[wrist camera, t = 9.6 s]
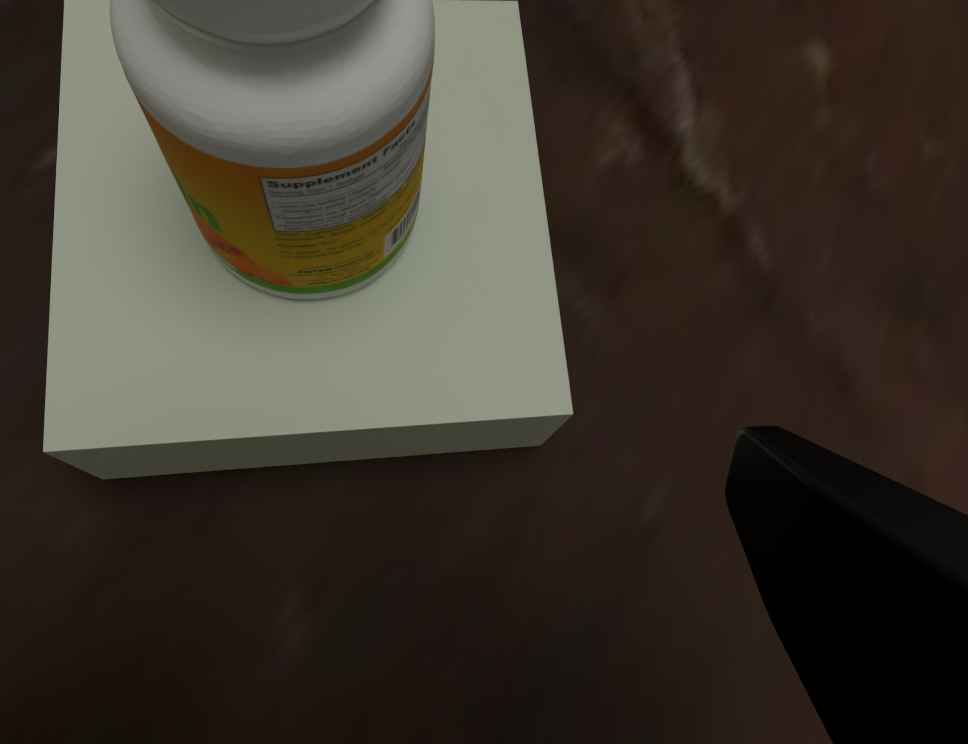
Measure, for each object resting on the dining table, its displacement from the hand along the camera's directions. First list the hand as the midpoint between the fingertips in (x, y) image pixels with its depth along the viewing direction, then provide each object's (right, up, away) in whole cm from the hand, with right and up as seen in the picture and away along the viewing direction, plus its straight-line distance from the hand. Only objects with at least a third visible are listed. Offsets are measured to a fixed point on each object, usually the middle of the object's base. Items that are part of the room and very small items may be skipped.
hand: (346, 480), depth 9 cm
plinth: (-3, +4, +15) cm, 16 cm away
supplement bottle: (-3, +5, +11) cm, 13 cm away
